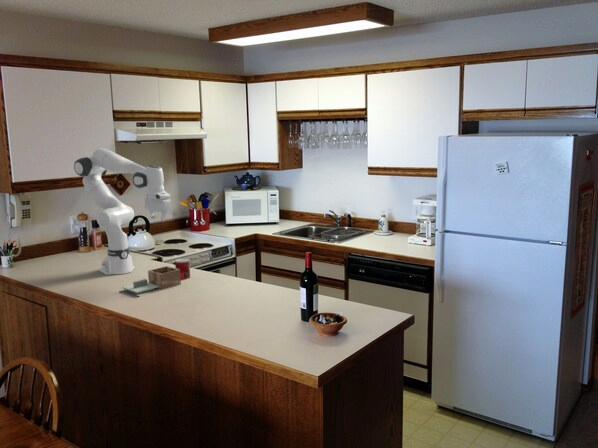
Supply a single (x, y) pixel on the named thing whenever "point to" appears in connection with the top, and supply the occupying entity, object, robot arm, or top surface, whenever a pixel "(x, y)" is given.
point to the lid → (140, 286)
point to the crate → (164, 277)
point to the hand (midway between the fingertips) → (158, 219)
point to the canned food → (183, 267)
